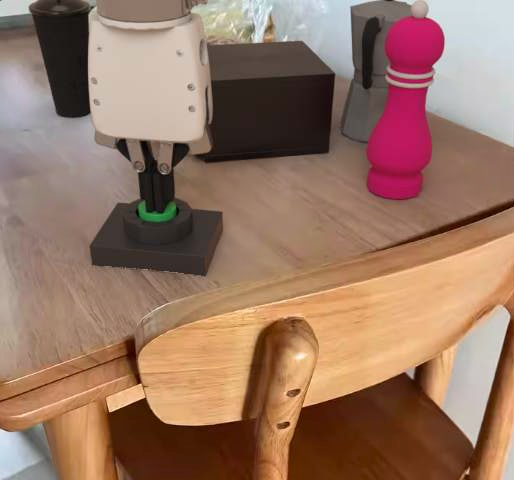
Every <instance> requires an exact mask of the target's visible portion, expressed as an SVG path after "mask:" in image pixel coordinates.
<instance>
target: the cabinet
mask: <svg viewBox="0 0 514 480" xmlns="http://www.w3.org/2000/svg"><path fill="white" fill-rule="evenodd" d="M207 51H208V58H209V67H210V78H211V89H212V104H213V114H212V121H211V123H210V124H209V128H210V131H211V135H212V139H213V146H212V148H211V150H210V151H209V152H208V153H203V154H200V155H201V157H202V159H203V161H204V163H207V164H208V163H218V162H230V161H242V160H243V161H244V160H256V159H268V158H280V157H293V156H304V155H305V156H306V155H318V154H329V152H330V143H331V131H332V130H331V129H332V119H333V118H332V117H333V106H334V97H335V96H334V93H335V84H336V83H335V82H336V72H335V71H334V70H333V69H331V68H330V66H329V65H327V64H326V62H325V61H324V60H322V58H321V57H319V56H318V54H317V53H315V52H314V50H312V49H311V48H310V47H309V45H307V44H306V43H305V42H304V40H290V41H289V40H287V41H285V40H284V41H269V42H268V41H267V42H248V43H246V42H245V43H226V44H207Z"/></svg>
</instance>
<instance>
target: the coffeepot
mask: <svg viewBox="0 0 514 480" xmlns="http://www.w3.org/2000/svg"><path fill="white" fill-rule="evenodd" d="M411 6H412V4H409V3H407V2H406V1H400V0H372V1H366V2H362V3H360V4H358V3H357V4H354V5H350V7H349V8H350V26H351V27H350V29H351V30H350V31H351V32H350V33H351V35H350V36H351V57H352V59H351V60H352V65H353V67H354V68H353V69H354V71H353V78H352V79H351V80H350V84H349V88H348V92H347V95H346V99H345V103H344V106H343V111H342V113H341V114H342V115H341V118H340V123H339V124H340V130H341V133H342V134H343V135H344V136H346V137H347V138H348V139H351V140H354V141H357V142H361V143H366V144H368V140H369V138H370V135H371V133H372V131H373V129H374V128H375V126H376V124H377V123H378V121H379V119H380V117H381V115H382V114H383V111H384V108H385V106H386V102H387V97H388V88H389V82H387V81H386V79H385V77H386V75H387V66H388V65H389V64H391V63H390V60H389V59H388V57H387V56H386V53H385V39H386V36H387V33H388V31H389V29H390V28H391V26H392V25H393V24H394V23H395V22H397V21H398V20H400V19H402V18H404V17H408V16H412V15H411V12H410V9H411ZM425 17H427V15H426V16H425Z"/></svg>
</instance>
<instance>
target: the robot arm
mask: <svg viewBox="0 0 514 480" xmlns="http://www.w3.org/2000/svg"><path fill="white" fill-rule="evenodd" d="M208 2H209V0H95V3H96V11H95V12H93V13H92V14H91V16H90V18H89V47H88V81H89V100H90V110H91V113H90V117H91V121H92V125H93V128H94V142H95V143H96V144H97V145H99V146H102V147H105V148H110V149H112V150H117V151H118V152H119V153H120V154H121V155H122V156H123V157H124V158H125V159H126V160H128V161H129V162H130V164H131V167H132V169H133V171H135V172H136V173H137V176H138V177H137V178H138V190H139V199H140V198H141V199H142V200H145V206H146V212H148V213H152V212H153V211H156V212H157V213H160V214H163V213H164V211H165V209H166V207H167V205H168V204H169V202H173V200H174V197H175V198H176V184H175V167H176V166H177V165H178V164H179V163H180V162H182V161H183V160H184V159H185V158H186V157H188V156H196V155H201V154H203V153H208V152H209V151H210V150H211V148H212V146H213V139H212V135H211V131H210V128H209V124H210V123H211V121H212V114H213V104H212V89H211V78H210V67H209V58H208V51H207V45H208V44H207V39H206V33H205V28H204V25H203V24H204V23H203V18H202V16H201V14H199V13H198V12H192V9H194V7H198V6H199V5H208ZM151 142H155V143H156V142H158V143H159V145H158V146H159V147H158V160H157V159H155V156H154V153H153V149H152V144H151Z"/></svg>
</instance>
